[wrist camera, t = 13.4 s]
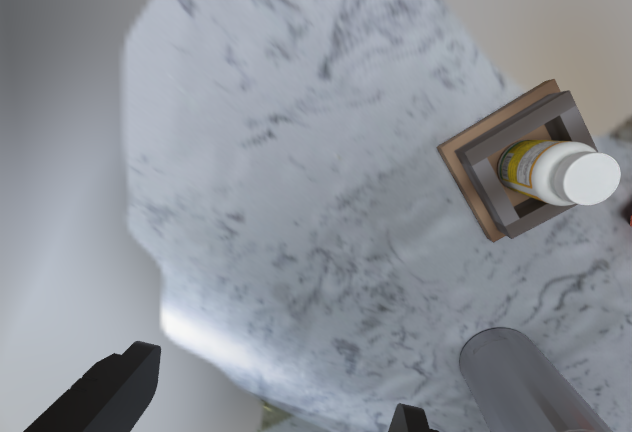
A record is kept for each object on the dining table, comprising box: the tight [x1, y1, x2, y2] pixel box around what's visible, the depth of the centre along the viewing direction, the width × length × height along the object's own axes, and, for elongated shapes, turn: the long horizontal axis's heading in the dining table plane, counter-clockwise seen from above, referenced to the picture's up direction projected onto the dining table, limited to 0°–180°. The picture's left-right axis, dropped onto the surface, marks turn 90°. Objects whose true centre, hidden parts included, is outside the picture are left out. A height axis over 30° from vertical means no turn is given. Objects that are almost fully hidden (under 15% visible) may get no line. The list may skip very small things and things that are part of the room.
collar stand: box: [437, 79, 598, 242], centre depth 33 cm, size 12×12×4 cm
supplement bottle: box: [498, 140, 621, 206], centre depth 29 cm, size 5×5×10 cm
